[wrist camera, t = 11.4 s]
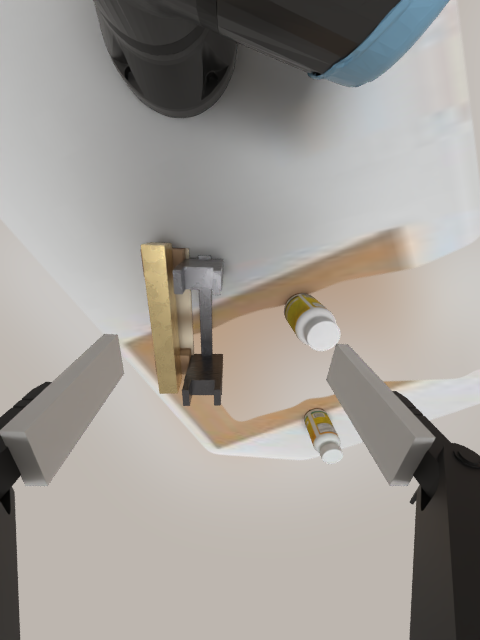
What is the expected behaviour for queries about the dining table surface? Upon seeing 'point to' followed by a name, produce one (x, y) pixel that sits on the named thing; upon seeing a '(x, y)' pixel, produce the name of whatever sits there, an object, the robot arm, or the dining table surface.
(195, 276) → the rack
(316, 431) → the supplement bottle
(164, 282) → the rail
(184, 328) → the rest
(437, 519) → the robot arm
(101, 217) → the dining table surface
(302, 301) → the pill bottle
